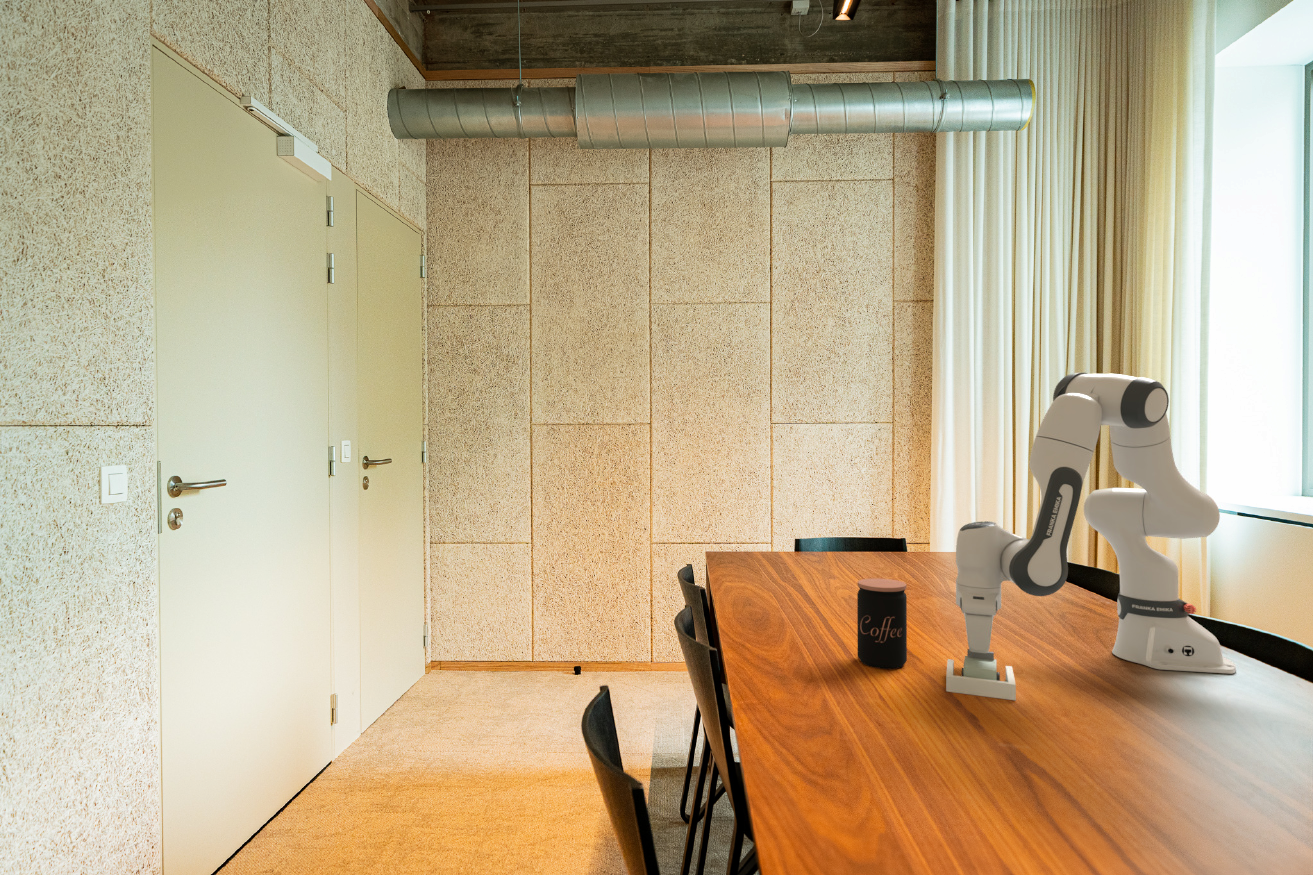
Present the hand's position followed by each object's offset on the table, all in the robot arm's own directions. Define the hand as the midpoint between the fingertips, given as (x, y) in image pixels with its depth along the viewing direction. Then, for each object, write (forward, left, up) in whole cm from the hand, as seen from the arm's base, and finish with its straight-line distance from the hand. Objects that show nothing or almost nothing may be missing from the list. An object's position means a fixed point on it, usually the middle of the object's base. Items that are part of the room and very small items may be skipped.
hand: (978, 662), depth 150 cm
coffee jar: (+20, -1, -3) cm, 20 cm away
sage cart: (0, +6, -3) cm, 7 cm away
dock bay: (0, +6, -3) cm, 7 cm away
